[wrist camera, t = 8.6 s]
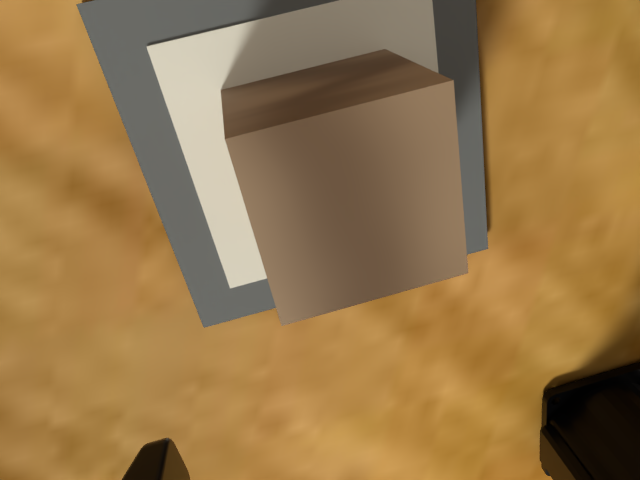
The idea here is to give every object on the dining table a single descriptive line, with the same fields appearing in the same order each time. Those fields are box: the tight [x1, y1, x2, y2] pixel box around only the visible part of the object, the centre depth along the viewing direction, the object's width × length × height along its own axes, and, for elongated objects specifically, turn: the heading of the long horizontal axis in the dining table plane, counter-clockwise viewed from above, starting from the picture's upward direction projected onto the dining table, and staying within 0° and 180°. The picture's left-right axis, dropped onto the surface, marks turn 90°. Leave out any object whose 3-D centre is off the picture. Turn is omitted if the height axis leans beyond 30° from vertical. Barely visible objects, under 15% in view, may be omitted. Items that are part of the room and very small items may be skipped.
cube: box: [221, 49, 468, 326], centre depth 16 cm, size 6×6×6 cm
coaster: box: [76, 0, 488, 328], centre depth 18 cm, size 12×12×1 cm
